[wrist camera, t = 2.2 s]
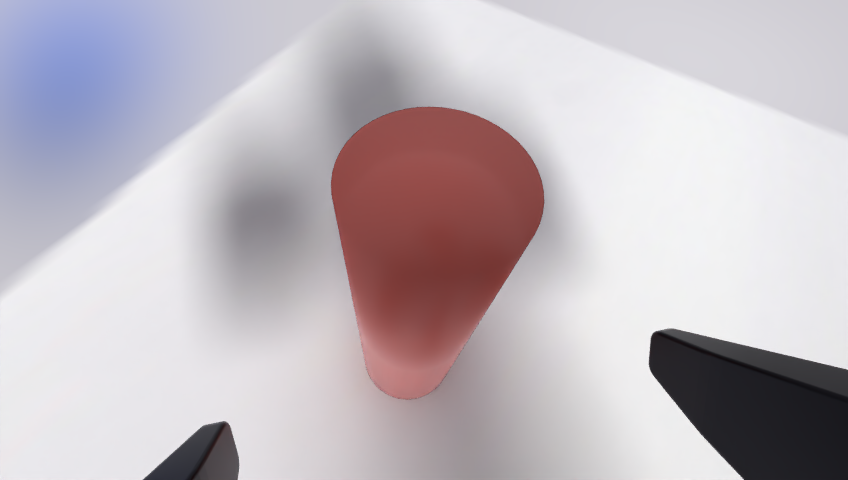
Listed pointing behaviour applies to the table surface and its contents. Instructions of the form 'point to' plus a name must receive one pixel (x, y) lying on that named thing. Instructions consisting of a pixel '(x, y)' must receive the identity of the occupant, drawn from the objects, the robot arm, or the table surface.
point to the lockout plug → (429, 235)
